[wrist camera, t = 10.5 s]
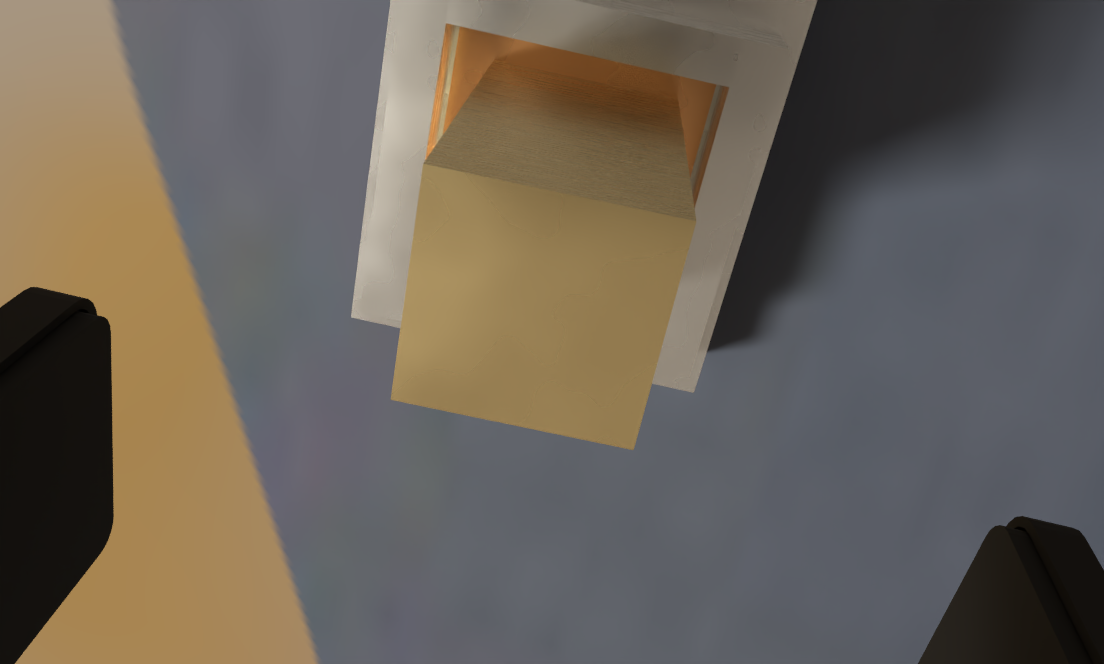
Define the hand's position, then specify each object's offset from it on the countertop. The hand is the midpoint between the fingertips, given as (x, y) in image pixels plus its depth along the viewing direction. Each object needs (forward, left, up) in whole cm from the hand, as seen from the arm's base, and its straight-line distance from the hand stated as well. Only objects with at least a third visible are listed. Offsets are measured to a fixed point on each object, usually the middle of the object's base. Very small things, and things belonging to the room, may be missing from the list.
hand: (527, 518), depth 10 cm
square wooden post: (0, 0, -14) cm, 14 cm away
